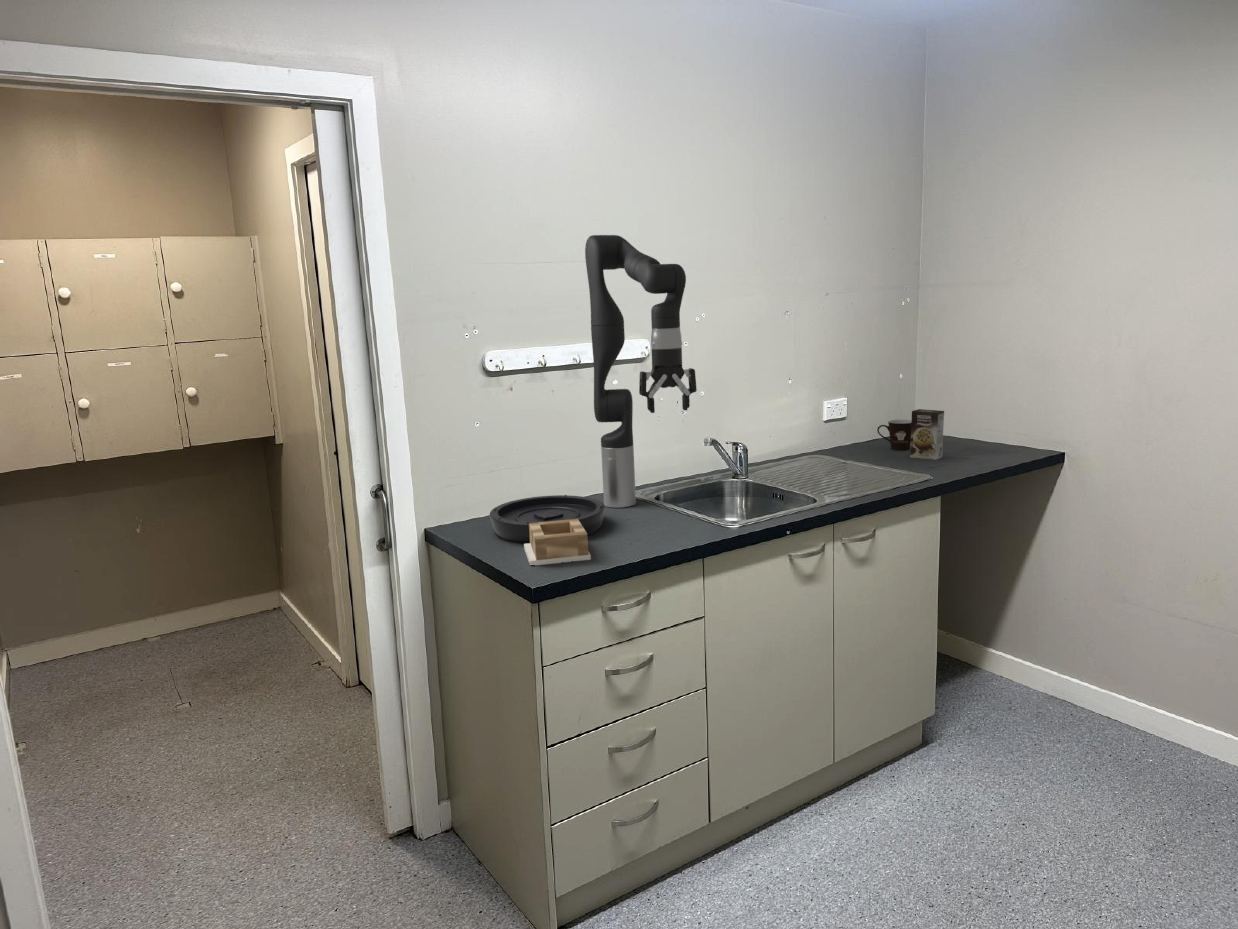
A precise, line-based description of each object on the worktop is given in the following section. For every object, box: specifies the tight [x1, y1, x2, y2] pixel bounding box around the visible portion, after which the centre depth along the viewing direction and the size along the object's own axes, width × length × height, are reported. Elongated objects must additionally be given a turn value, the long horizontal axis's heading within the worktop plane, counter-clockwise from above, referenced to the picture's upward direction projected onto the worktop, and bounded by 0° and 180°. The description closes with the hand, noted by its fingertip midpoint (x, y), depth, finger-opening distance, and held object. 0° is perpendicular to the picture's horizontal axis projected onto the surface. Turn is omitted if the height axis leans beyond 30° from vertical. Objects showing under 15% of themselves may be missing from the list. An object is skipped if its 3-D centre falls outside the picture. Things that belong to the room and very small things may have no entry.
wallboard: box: [523, 543, 592, 566], centre depth 201 cm, size 14×14×4 cm
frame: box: [529, 519, 589, 560], centre depth 201 cm, size 14×12×5 cm
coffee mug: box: [876, 419, 912, 452], centre depth 306 cm, size 12×9×10 cm
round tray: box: [489, 494, 606, 544], centre depth 223 cm, size 30×6×30 cm
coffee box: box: [909, 408, 945, 461], centre depth 289 cm, size 9×6×16 cm
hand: (668, 411), depth 214 cm, fingers open, 8 cm apart
